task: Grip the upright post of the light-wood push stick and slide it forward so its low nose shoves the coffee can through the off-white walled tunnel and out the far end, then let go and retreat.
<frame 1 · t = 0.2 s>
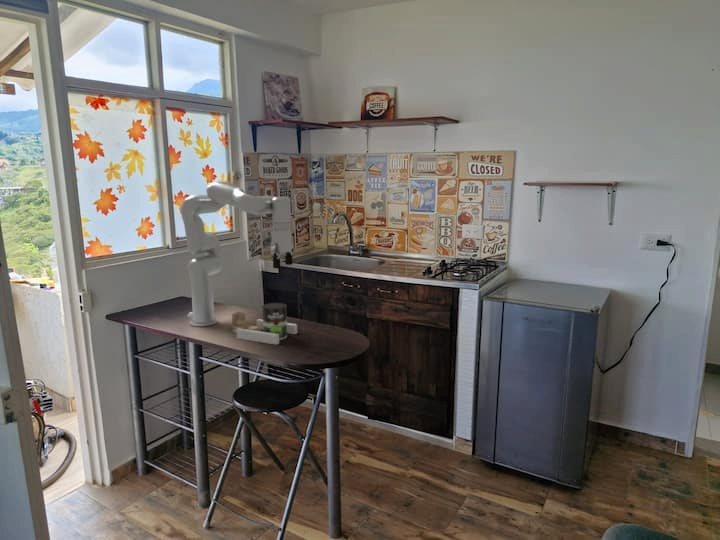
hand: (282, 266, 212), 31 cm above the table, fingers open, 9 cm apart
push stick: (239, 331, 223), on the table
tunnel: (267, 335, 217), on the table
coffee can: (275, 337, 216), on the table
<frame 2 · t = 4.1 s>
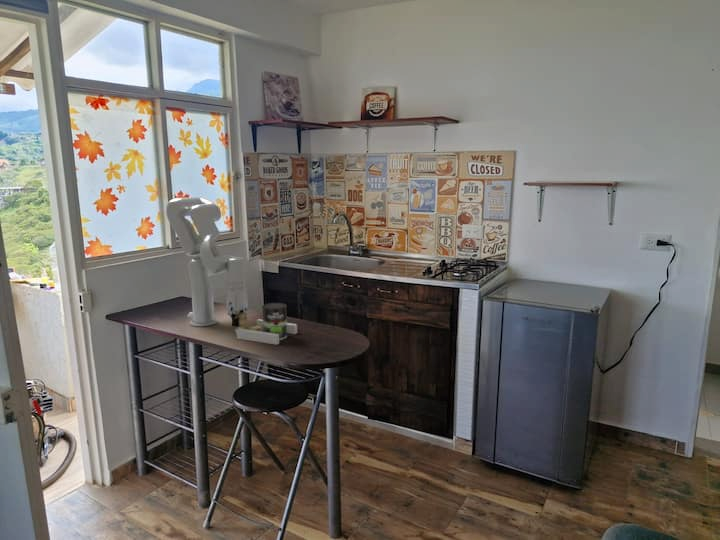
hand: (238, 324, 222), 3 cm above the table, fingers closed on push stick, 4 cm apart
push stick: (241, 331, 222), on the table, touching gripper
everything else where it was.
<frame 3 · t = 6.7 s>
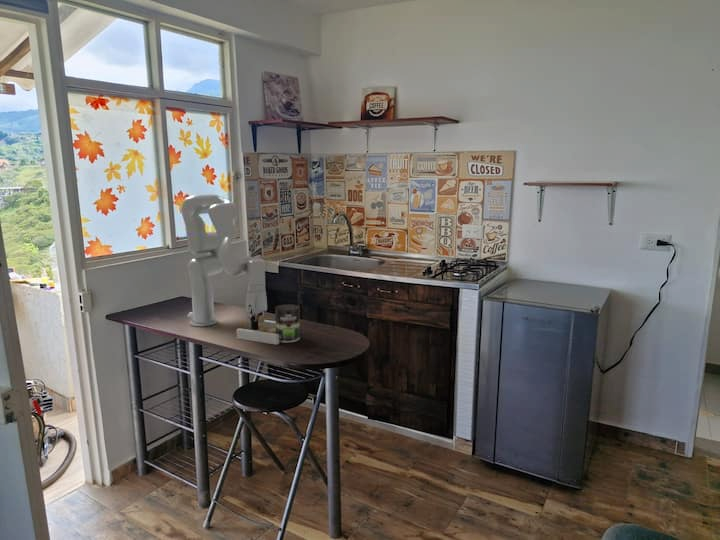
hand: (257, 327, 218), 3 cm above the table, fingers closed on push stick, 4 cm apart
push stick: (258, 334, 219), on the table, touching coffee can, gripper
coffee can: (287, 339, 213), on the table, touching push stick
when the fingers open (3 cm above the table, at t = 9.8 s): push stick moves 1 cm, on the table.
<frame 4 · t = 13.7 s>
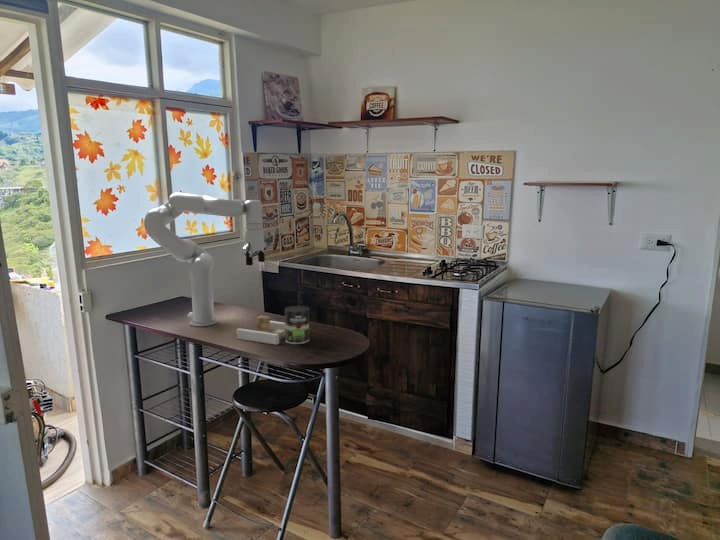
hand: (255, 263, 232), 28 cm above the table, fingers open, 9 cm apart
push stick: (263, 335, 218), on the table
coffee can: (297, 340, 211), on the table
at the end: coffee can inside the target area (2.7 cm from its centre), on the table; coffee can tilted 0°; coffee can moved 11.1 cm from its start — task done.
